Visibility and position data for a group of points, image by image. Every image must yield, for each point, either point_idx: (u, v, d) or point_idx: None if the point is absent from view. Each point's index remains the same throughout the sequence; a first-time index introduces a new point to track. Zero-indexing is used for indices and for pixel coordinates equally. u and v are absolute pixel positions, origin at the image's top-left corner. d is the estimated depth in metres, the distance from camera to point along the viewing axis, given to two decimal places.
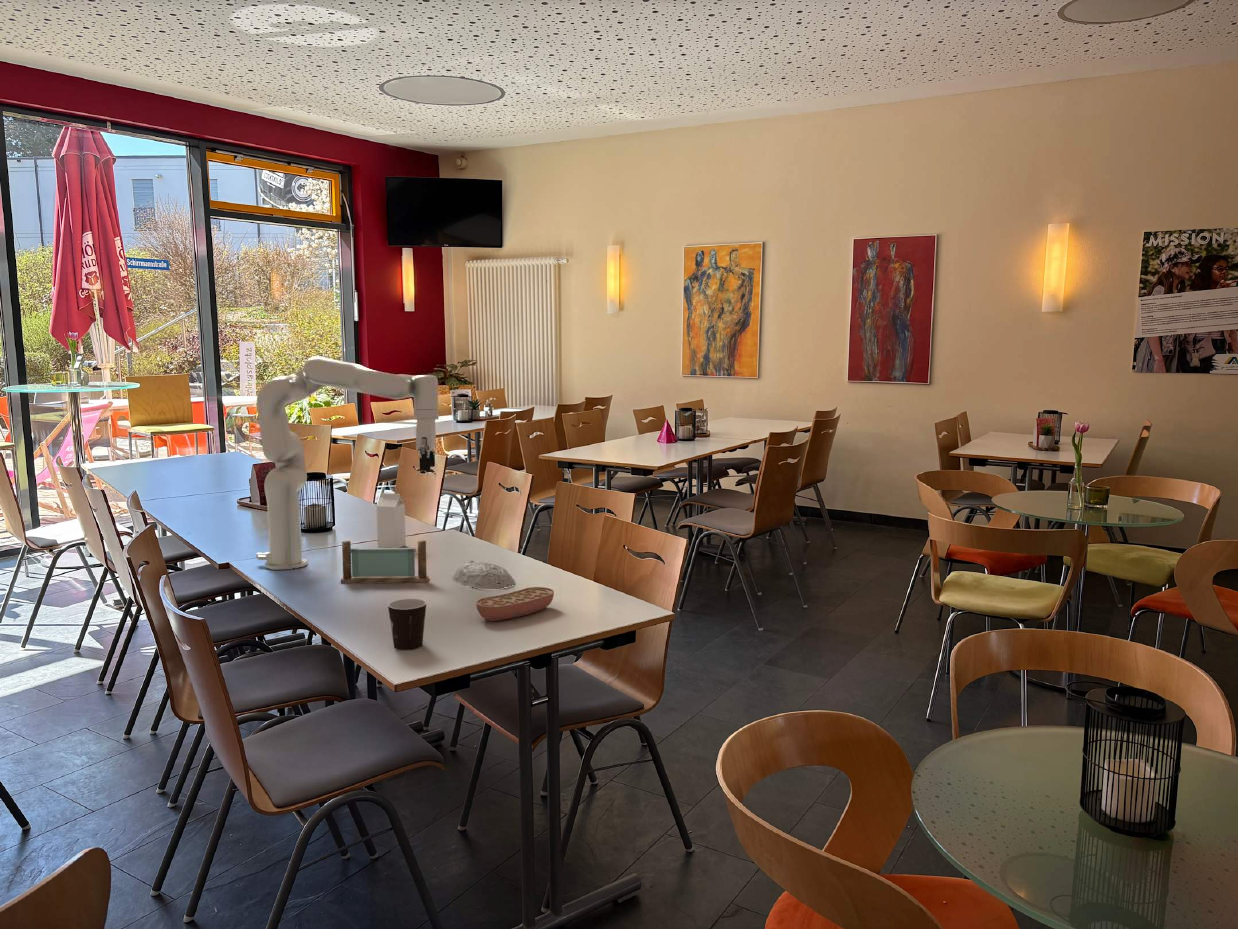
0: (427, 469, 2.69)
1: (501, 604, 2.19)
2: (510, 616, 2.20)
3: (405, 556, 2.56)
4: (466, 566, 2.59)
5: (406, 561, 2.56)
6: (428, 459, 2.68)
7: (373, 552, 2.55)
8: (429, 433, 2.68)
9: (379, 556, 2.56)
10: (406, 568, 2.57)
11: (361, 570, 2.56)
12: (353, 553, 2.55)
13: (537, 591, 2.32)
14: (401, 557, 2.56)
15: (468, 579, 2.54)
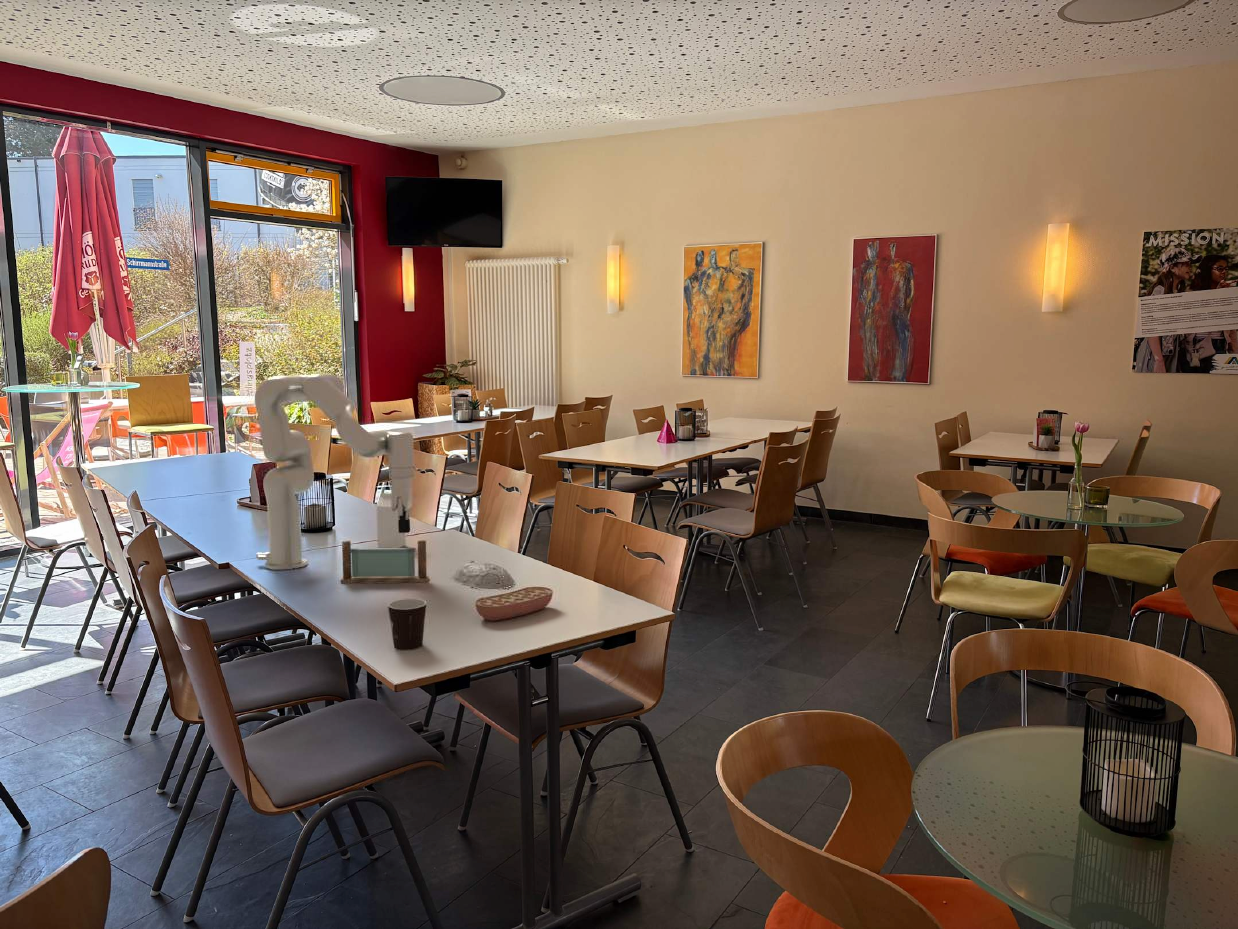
0: (406, 531, 2.63)
1: (500, 604, 2.19)
2: (509, 616, 2.20)
3: (405, 556, 2.56)
4: (466, 566, 2.59)
5: (406, 561, 2.56)
6: (407, 521, 2.63)
7: (373, 552, 2.55)
8: (404, 492, 2.58)
9: (379, 556, 2.56)
10: (406, 568, 2.57)
11: (361, 570, 2.56)
12: (353, 553, 2.55)
13: (536, 591, 2.32)
14: (401, 557, 2.56)
15: (467, 579, 2.54)
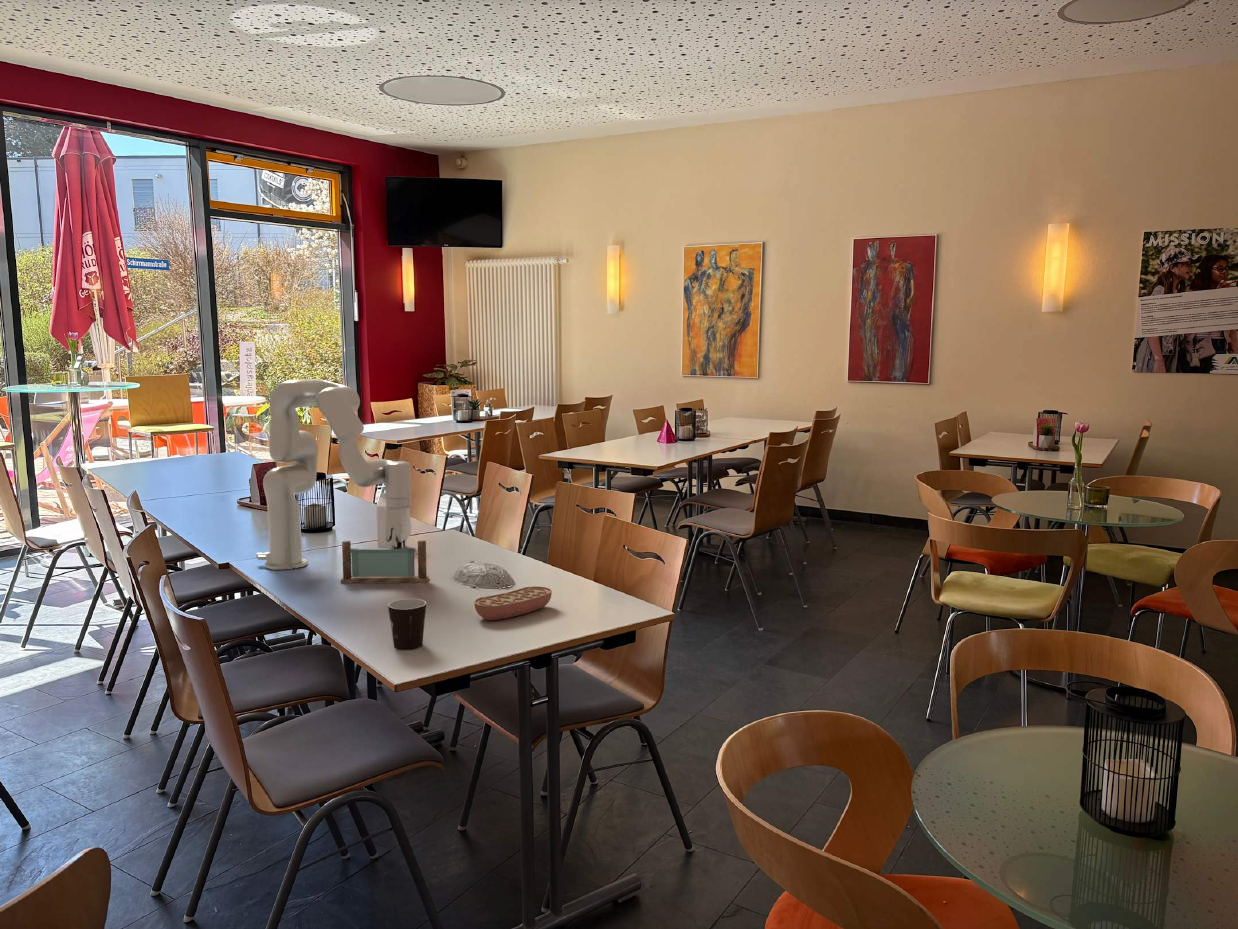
0: None
1: (499, 603, 2.19)
2: (508, 615, 2.21)
3: (405, 556, 2.56)
4: (466, 566, 2.59)
5: (406, 561, 2.56)
6: None
7: (373, 552, 2.55)
8: (398, 524, 2.54)
9: (379, 556, 2.56)
10: (406, 568, 2.56)
11: (361, 570, 2.56)
12: (353, 553, 2.55)
13: (535, 590, 2.32)
14: (401, 557, 2.56)
15: (467, 579, 2.54)
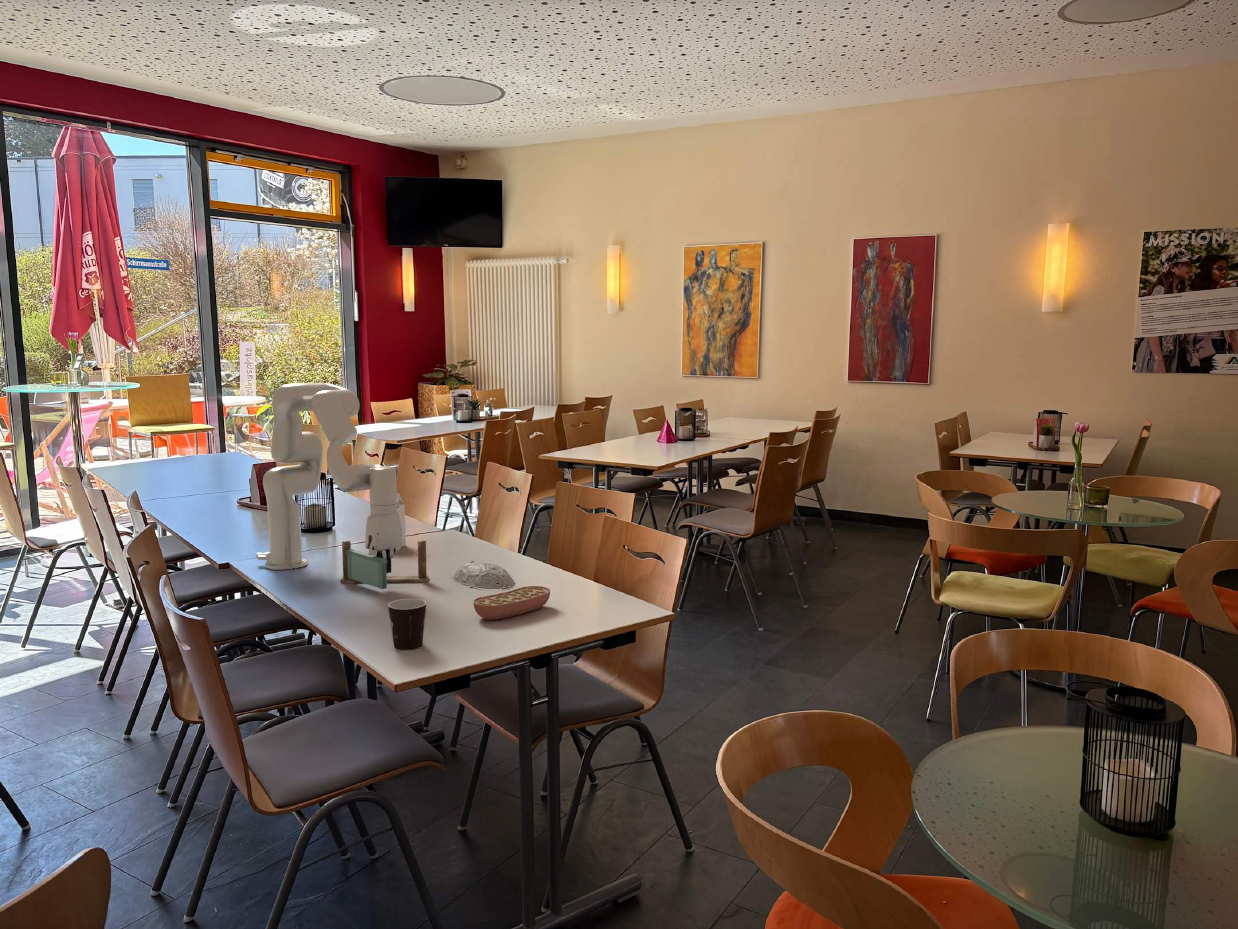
0: None
1: (498, 603, 2.20)
2: (507, 615, 2.21)
3: (377, 566, 2.44)
4: (466, 566, 2.59)
5: (377, 572, 2.44)
6: None
7: (359, 556, 2.50)
8: (374, 532, 2.43)
9: (362, 561, 2.49)
10: (377, 579, 2.44)
11: (353, 572, 2.53)
12: (348, 554, 2.54)
13: (533, 590, 2.33)
14: (375, 566, 2.45)
15: (467, 579, 2.54)
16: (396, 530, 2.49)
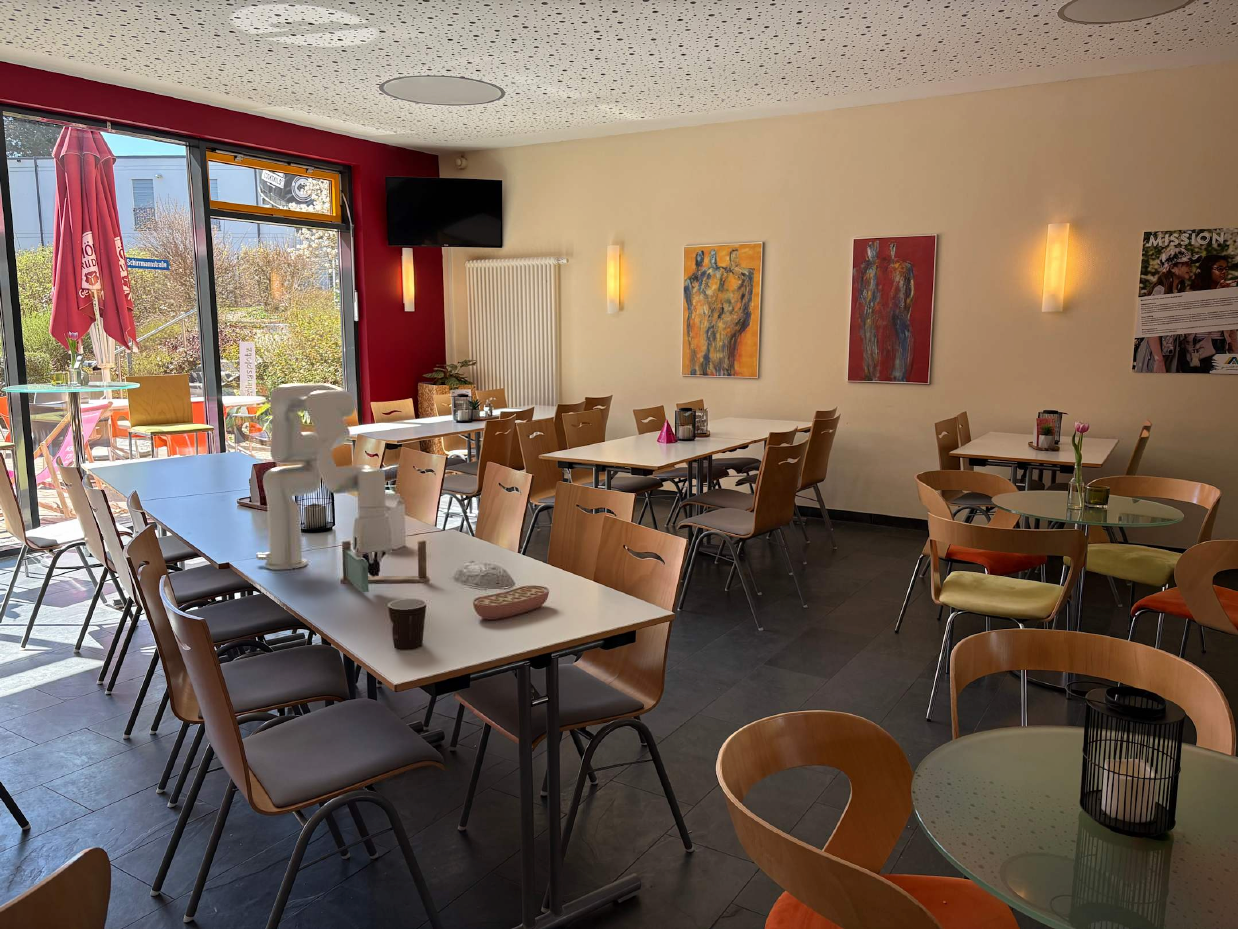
0: (372, 574, 2.45)
1: (498, 603, 2.20)
2: (507, 614, 2.21)
3: (360, 569, 2.41)
4: (466, 566, 2.59)
5: (360, 574, 2.41)
6: (372, 564, 2.44)
7: (351, 557, 2.49)
8: (358, 534, 2.40)
9: (353, 563, 2.47)
10: (360, 582, 2.41)
11: (349, 573, 2.52)
12: (345, 554, 2.53)
13: (532, 589, 2.33)
14: (359, 569, 2.42)
15: (467, 578, 2.54)
16: (384, 533, 2.44)
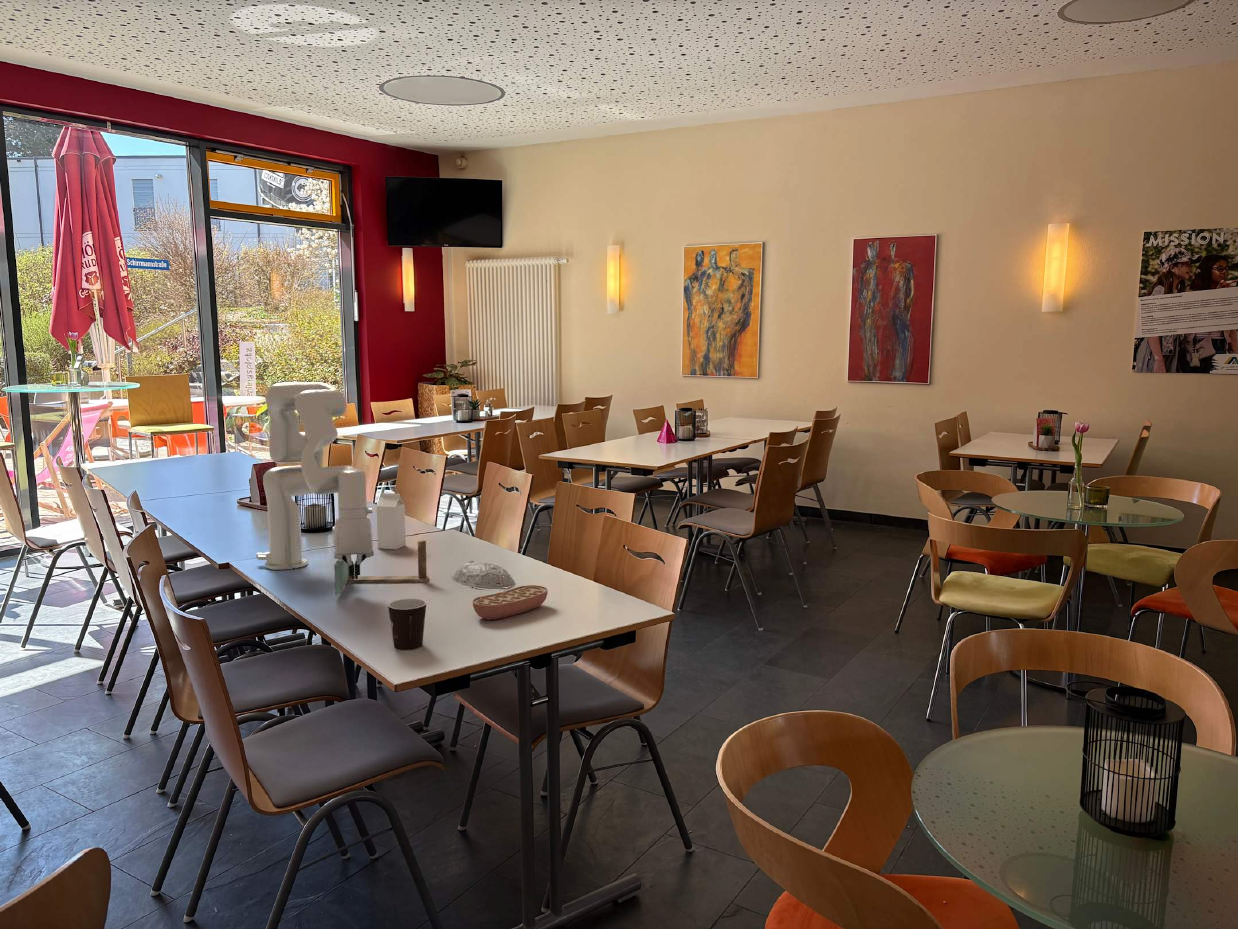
0: None
1: (498, 603, 2.20)
2: (506, 614, 2.21)
3: None
4: (466, 566, 2.59)
5: None
6: (351, 566, 2.41)
7: None
8: (335, 535, 2.38)
9: None
10: None
11: None
12: None
13: (531, 589, 2.33)
14: None
15: (467, 579, 2.54)
16: (362, 536, 2.40)
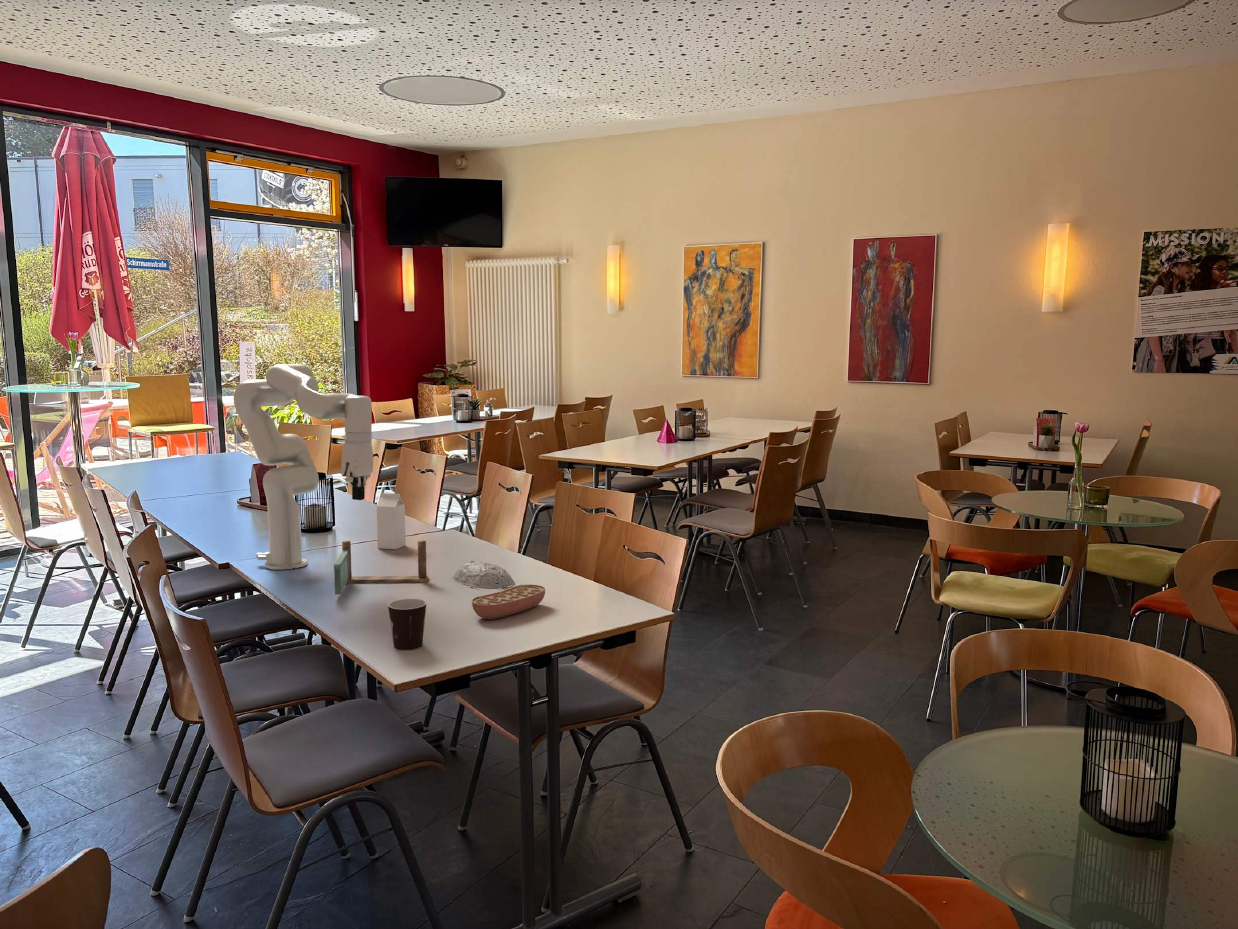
0: (359, 498, 2.55)
1: (497, 602, 2.20)
2: (506, 614, 2.22)
3: None
4: (466, 566, 2.59)
5: None
6: (360, 488, 2.55)
7: None
8: (353, 458, 2.49)
9: None
10: None
11: None
12: None
13: (528, 588, 2.34)
14: None
15: (467, 579, 2.54)
16: (369, 458, 2.56)
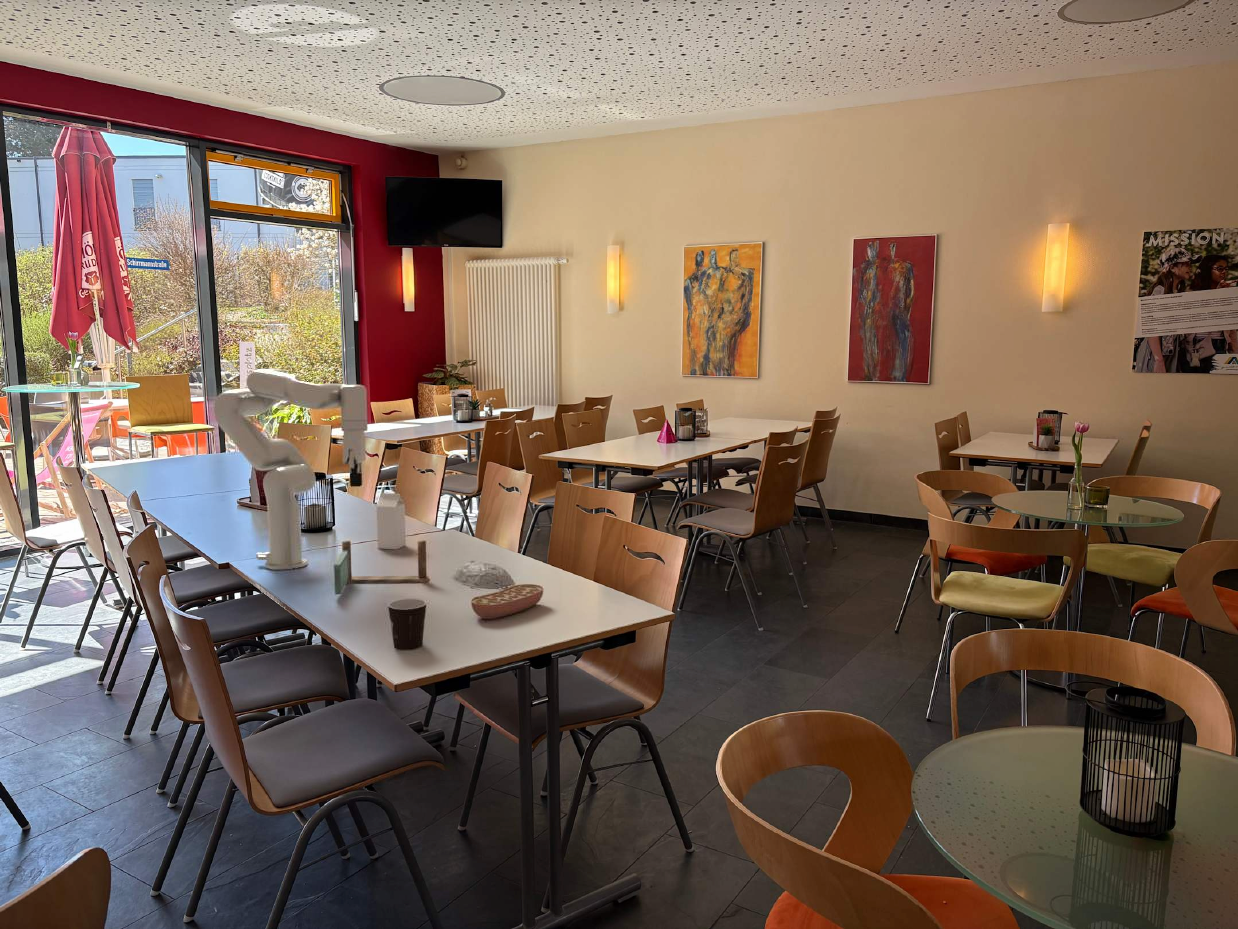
0: (358, 485, 2.63)
1: (497, 602, 2.20)
2: (505, 613, 2.22)
3: None
4: (466, 566, 2.59)
5: None
6: (359, 474, 2.62)
7: None
8: (356, 445, 2.57)
9: None
10: None
11: None
12: None
13: (526, 588, 2.34)
14: None
15: (467, 578, 2.54)
16: (364, 445, 2.64)
